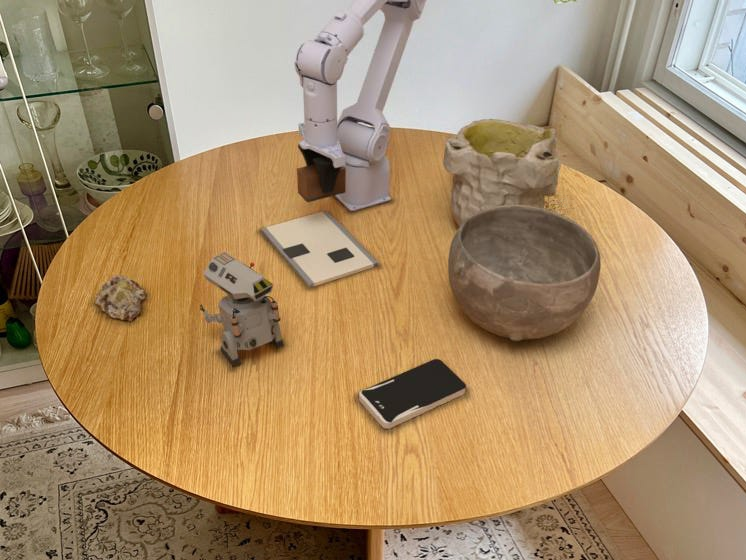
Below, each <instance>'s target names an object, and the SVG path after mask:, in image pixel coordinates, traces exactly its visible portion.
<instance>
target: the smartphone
mask: <svg viewBox="0 0 746 560" xmlns="http://www.w3.org/2000/svg"><path fill="white" fill-rule="evenodd" d="M466 388H467V384H466V383H465V381H463V380H462V379H461V378H460V377H459V376H458V374H456V373H455V371H453V370H452V369H451V368H450V367H449V366H448V365H447V364H445V363H444V361H443V360H441V359H439V358H434V359H431V360H429V361H427V362H424V363H422V364H420V365H418V366H415V367H413V368H411V369H409V370H406V371H404V372H402V373H399V374H397V375H394V376H392V377H390V378H388V379H385V380H383V381H379V382H378V383H375V384H373V385H371V386H369V387H367V388H364V389H362V390H360V391H359V392H358V393H359V394H358V395H359V397H358V401H359V402H360V404H361V405H362V406H363V408H365V410H366V411H367V412H368V413H369V414H370V416H371V417H373V418H374V420H375V421H376V422H377V423H378V425H380V426H381V428H383V429H385V430H389V429H392V428H394V427H396V426H398V425H401V424H403V423H405V422H408V421H409V420H411V419H414V418H416V417H418V416H420V415H423V414H425V413H427V412H429V411H431V410H433V409H435V408H437V407H439V406H442V405H445V404H446V403H448V402H450V401H452V400H455V399H458V398H459V397H461V396H463V395H465V393H466Z"/></svg>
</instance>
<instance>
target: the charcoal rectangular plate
mask: <svg viewBox="0 0 746 560" xmlns="http://www.w3.org/2000/svg"><path fill="white" fill-rule="evenodd" d="M327 255H328V256H329V257H330V258H331V259H332V260H333V261H334V262H335V263H337V262H340V261H343V260H346V259H349V258H353V257H354V255H353V254H352V253H351V252H350V251H349V250H348V249H347V248H343V249H340V250H336V251H333V252H330V253H327Z"/></svg>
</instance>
